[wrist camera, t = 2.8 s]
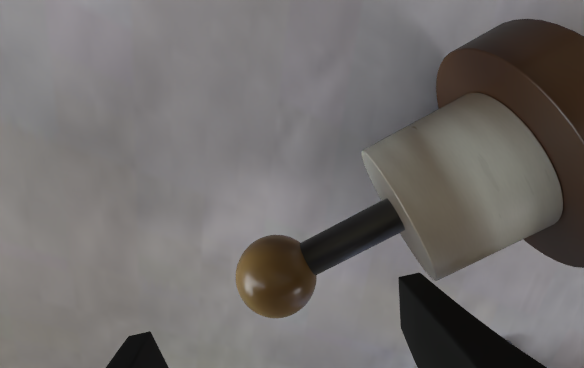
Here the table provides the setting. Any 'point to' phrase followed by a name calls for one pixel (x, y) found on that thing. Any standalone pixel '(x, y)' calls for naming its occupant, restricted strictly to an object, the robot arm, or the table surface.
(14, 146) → the table surface
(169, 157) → the table surface
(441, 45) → the table surface
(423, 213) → the joystick
